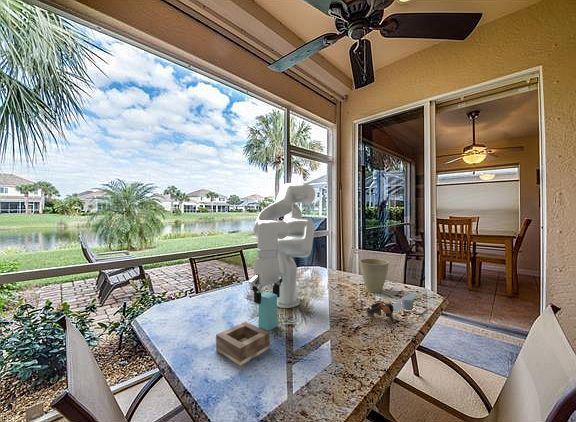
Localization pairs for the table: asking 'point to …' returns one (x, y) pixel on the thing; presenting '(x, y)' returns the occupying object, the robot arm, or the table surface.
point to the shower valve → (405, 303)
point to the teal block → (268, 311)
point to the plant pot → (374, 273)
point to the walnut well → (242, 342)
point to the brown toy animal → (377, 310)
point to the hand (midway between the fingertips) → (267, 299)
